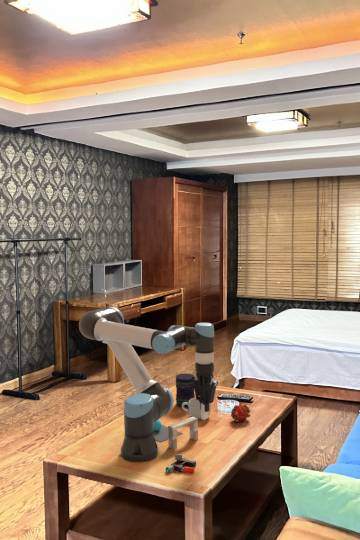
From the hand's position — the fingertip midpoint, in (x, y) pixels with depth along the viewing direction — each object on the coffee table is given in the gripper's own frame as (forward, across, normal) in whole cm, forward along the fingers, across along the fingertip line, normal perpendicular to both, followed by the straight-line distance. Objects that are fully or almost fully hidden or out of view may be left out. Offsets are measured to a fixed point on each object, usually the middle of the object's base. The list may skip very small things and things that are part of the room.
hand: (204, 418), depth 218 cm
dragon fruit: (+15, +12, -36) cm, 41 cm away
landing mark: (+15, +27, 0) cm, 30 cm away
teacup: (+15, +30, -25) cm, 42 cm away
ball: (+12, +31, 0) cm, 33 cm away
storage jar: (+15, +46, -33) cm, 58 cm away
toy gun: (+15, -5, +17) cm, 23 cm away
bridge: (+14, +13, 0) cm, 19 cm away
